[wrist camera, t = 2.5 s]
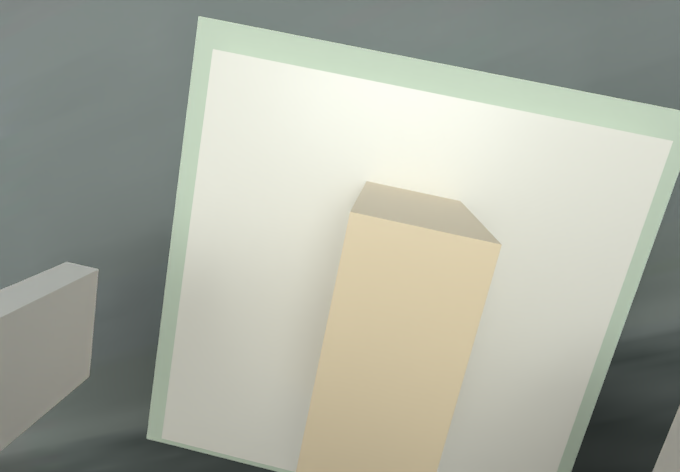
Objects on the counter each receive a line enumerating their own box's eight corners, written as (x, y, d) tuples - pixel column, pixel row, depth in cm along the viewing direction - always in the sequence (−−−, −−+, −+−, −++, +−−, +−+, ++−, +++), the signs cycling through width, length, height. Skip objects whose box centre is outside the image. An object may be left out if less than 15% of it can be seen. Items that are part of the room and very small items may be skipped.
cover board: (655, 140, 15) (866, 148, 8) (527, 511, 18) (606, 734, 12) (223, 53, 16) (99, -3, 9) (173, 422, 19) (52, 582, 12)
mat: (690, 114, 15) (699, 114, 15) (542, 529, 19) (546, 540, 19) (204, 19, 16) (198, 16, 16) (152, 431, 20) (146, 438, 20)
